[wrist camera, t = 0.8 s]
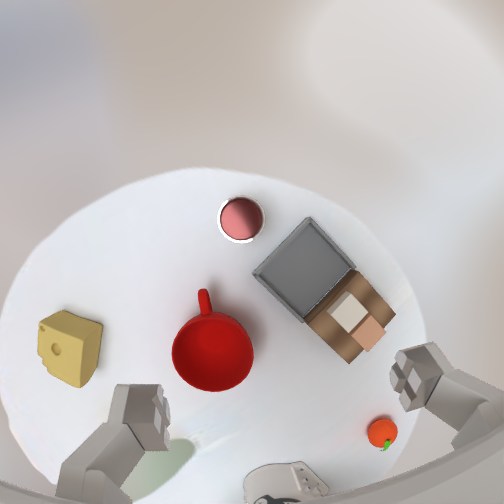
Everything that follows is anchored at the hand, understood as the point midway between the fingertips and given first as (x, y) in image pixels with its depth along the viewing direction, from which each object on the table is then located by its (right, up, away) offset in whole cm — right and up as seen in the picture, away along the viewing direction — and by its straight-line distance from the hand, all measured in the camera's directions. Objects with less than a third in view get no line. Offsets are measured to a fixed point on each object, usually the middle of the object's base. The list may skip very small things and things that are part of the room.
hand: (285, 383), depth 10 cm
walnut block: (+17, -8, +49) cm, 53 cm away
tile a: (+16, -6, +45) cm, 48 cm away
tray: (+8, +1, +48) cm, 49 cm away
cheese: (-36, -13, +46) cm, 60 cm away
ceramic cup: (-8, -9, +48) cm, 49 cm away
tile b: (+20, -10, +46) cm, 51 cm away
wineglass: (-3, +10, +47) cm, 48 cm away
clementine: (+28, -37, +52) cm, 70 cm away
